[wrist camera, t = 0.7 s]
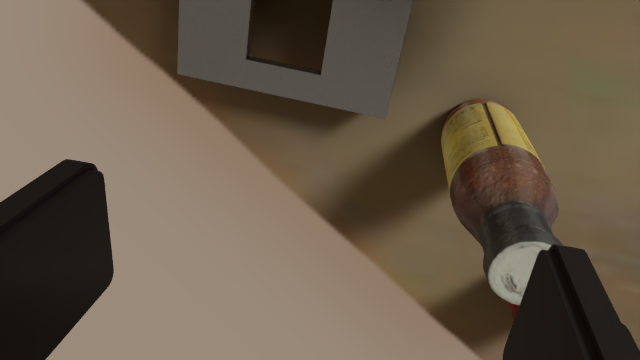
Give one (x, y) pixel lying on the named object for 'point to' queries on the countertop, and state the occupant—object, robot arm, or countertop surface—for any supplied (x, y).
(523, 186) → the sauce bottle
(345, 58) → the slotted grey box
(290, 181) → the countertop surface
